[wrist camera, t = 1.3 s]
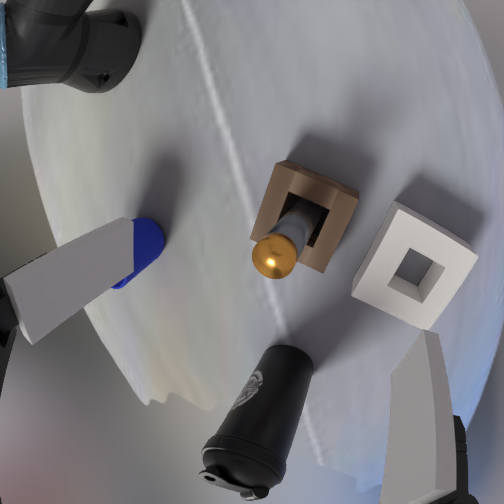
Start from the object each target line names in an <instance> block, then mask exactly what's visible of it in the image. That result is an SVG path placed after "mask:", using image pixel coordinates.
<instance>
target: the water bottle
mask: <svg viewBox="0 0 504 504" xmlns="http://www.w3.org/2000/svg"><path fill="white" fill-rule="evenodd" d="M312 373H313V363H312V360H311V359H310V357H309V356H308V355H307V354H306V353H305V352H303V351H302V350H300V349H298V348H295V347H292V346H288V345H277V346H273V347H270V348H269V349H267V350H266V351H265V353H264V354H263V356H262V358H261V360H260V361H259V363H258V365H257V367H256V368H255V370H254V372H253V374H252V375H251V376H250V378H249V380H248V381H247V383H246V385H245V386H244V388H243V390H242V391H241V393H240V395H239V396H238V398H237V400H236V401H235V403H234V405H233V406H232V408H231V410H230V411H229V413H228V415H227V417H226V418H225V420H224V422H223V423H222V425H221V426H220V428H219V430H218V431H217V433H216V434H215V435H214V436H212V437H211V438H210V439H209V440H208V441H207V443H206V444H205V446H204V448H203V449H202V455H203V463H204V466H205V468H206V470H203V471H201V472H200V473H199V475H198V477H199V478H201V479H202V480H204V481H206V482H208V483H210V484H213V485H216V486H220V487H222V488H226V489H229V490H233V491H236V492H240V496H241V498H242V499H244V500H247V501H252V500H258V499H262V498H265V497H266V496H267V495H268V493H269V490H270V489H271V488H272V487H274V486H275V485H277V484H279V483H280V482H281V481H282V479H283V477H284V474H285V472H286V460H287V457H288V454H289V451H290V448H291V445H292V442H293V439H294V436H295V433H296V429H297V426H298V423H299V420H300V416H301V413H302V410H303V406H304V403H305V399H306V395H307V392H308V388H309V384H310V381H311V377H312Z"/></svg>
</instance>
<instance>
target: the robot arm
mask: <svg viewBox="0 0 504 504" xmlns="http://www.w3.org/2000/svg"><path fill="white" fill-rule="evenodd" d="M92 1H93V0H7V1H6V3H5V4H3V3H0V88H3V89H6V88H10V87H17V86H26V85H36V84H50V83H63V84H66V85H68V86H71V87H73V88H76V89H78V90H81V91H83V92H87V93H104V92H107V91H109V90H111V89H112V88H114V87H115V86H117V85H118V84H119V83H120V82H121V81H122V80H123V78H124V77H125V76H126V75H127V73H128V72H129V70H130V68H131V67H132V65H133V63H134V61H135V58H136V56H137V53H138V49H139V45H140V39H141V29H140V24H139V21H138V19H137V18H136V16H135V15H134V14H132V13H131V12H128V11H125V10H122V9H115V8H113V9H103V10H95V11H88V12H85V11H86V9H87V8H88V7H89V5H90V4H91V3H92ZM133 224H134V222H133V221H131V220H128V219H125V218H123V217H122V218H119V219H117V220H115V221H113V222H110V223H108V224H106V225H104V226H102V227H99V228H97V229H95V230H93V231H91V232H89V233H87V234H85V235H83V236H81V237H79V238H76V239H74V240H72V241H70V242H68V243H66V244H64V245H62V246H61V247H59V248H57V249H55V250H53V251H51V252H49V253H45V254H43V255H41V256H40V257H38V258H36V259H35V260H32V261H30V262H28V264H25V265H23V266H22V267H20V268H18V269H16V270H14V271H12V272H11V273H9V274H7V275H5V276H4V277H2V278H0V396H1V391H2V386H3V382H4V377H5V373H6V369H7V365H8V361H9V357H10V354H11V350H12V346H13V343H14V340H15V336H16V331H17V330H16V327H15V326H17V325H18V324H19V326H20V328H21V330H22V333H23V335H24V336H25V337H26V338H27V340H28V341H29V342H30V343H31V344H32V345H33V344H35V343H36V342H37V341H38V340H40V339H41V338H42V337H44V336H45V335H46V334H48V333H49V332H50V331H51V330H53V329H54V328H55V327H57V326H58V325H59V324H61V323H62V322H63V321H65V320H66V319H67V318H69V317H70V316H72V315H73V314H74V313H76V312H77V311H78V310H80V309H81V308H83V307H84V306H85V305H87V304H88V303H90V302H91V301H92V300H94V299H95V298H97V297H98V296H99V295H101V294H102V293H104V292H105V291H107V290H108V289H109V288H111V287H112V286H114V285H115V284H117V283H118V282H119V281H121V280H122V279H124V278H125V277H127V276H128V275H130V274H131V273H133V272H134V261H133ZM465 442H466V434H465V428H464V425H463V423H462V421H461V418H460V416H456V415H453V412H452V404H451V397H450V390H449V384H448V378H447V373H446V367H445V362H444V357H443V353H442V348H441V344H440V339H439V335H438V334H436V333H433V332H430V331H427V330H425V329H423V330H422V332H421V333H420V335H419V336H418V338H417V339H416V341H415V342H414V344H413V345H412V347H411V348H410V350H409V351H408V353H407V354H406V355H405V357H404V358H403V359H402V361H401V362H400V364H399V365H398V366H397V368H396V369H395V370H394V372H393V373H392V374H391V400H390V419H389V433H388V444H387V453H386V462H385V469H384V476H383V483H382V489H381V495H380V500H379V504H479V503H478V501H477V500H476V498H475V497H474V496H472V495H471V494H468V463H467V461H468V460H467V454H466V452H467V445H466V444H465ZM0 504H2V503H1V498H0Z"/></svg>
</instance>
